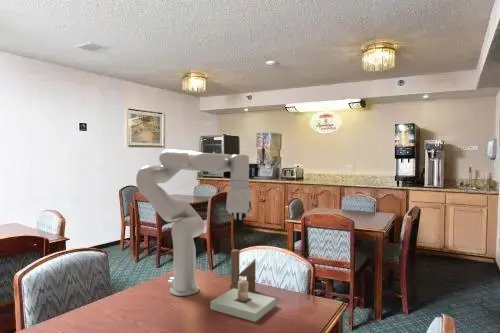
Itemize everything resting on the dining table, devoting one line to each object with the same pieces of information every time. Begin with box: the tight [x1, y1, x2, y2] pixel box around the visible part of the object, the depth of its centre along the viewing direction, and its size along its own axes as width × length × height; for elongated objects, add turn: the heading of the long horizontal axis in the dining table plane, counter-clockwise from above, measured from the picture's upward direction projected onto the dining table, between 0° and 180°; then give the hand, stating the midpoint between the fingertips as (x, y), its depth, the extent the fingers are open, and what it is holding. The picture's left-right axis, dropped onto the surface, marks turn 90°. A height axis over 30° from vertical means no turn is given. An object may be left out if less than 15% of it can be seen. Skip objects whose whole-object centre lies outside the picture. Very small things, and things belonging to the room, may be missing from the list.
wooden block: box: [229, 248, 257, 294], centre depth 152 cm, size 4×11×18 cm, turn 84°
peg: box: [238, 279, 248, 304], centre depth 135 cm, size 4×4×10 cm
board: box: [210, 288, 277, 323], centre depth 135 cm, size 20×16×3 cm
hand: (239, 228), depth 143 cm, fingers closed
